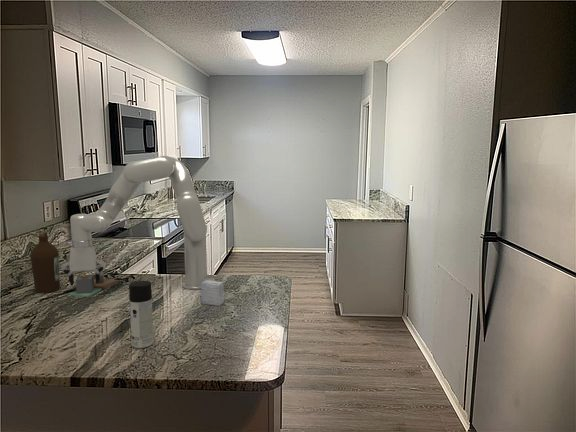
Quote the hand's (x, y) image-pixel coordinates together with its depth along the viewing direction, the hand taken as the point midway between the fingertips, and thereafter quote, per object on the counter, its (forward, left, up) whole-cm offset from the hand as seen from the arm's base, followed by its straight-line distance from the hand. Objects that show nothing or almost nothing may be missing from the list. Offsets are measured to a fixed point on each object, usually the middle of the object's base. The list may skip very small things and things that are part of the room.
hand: (84, 283), depth 184 cm
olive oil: (+18, +1, -4) cm, 19 cm away
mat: (0, 0, -4) cm, 4 cm away
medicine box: (-57, -2, -4) cm, 57 cm away
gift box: (0, 0, -3) cm, 3 cm away
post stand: (+1, -11, -4) cm, 12 cm away
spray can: (-50, +37, -4) cm, 62 cm away
